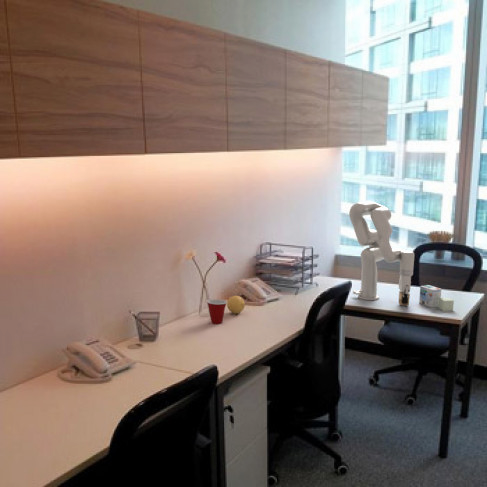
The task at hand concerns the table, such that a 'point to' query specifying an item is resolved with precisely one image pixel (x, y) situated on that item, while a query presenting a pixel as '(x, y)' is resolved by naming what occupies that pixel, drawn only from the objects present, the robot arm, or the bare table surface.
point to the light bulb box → (429, 295)
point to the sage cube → (445, 304)
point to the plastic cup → (216, 310)
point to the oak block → (402, 296)
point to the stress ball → (235, 304)
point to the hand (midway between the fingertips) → (403, 301)
